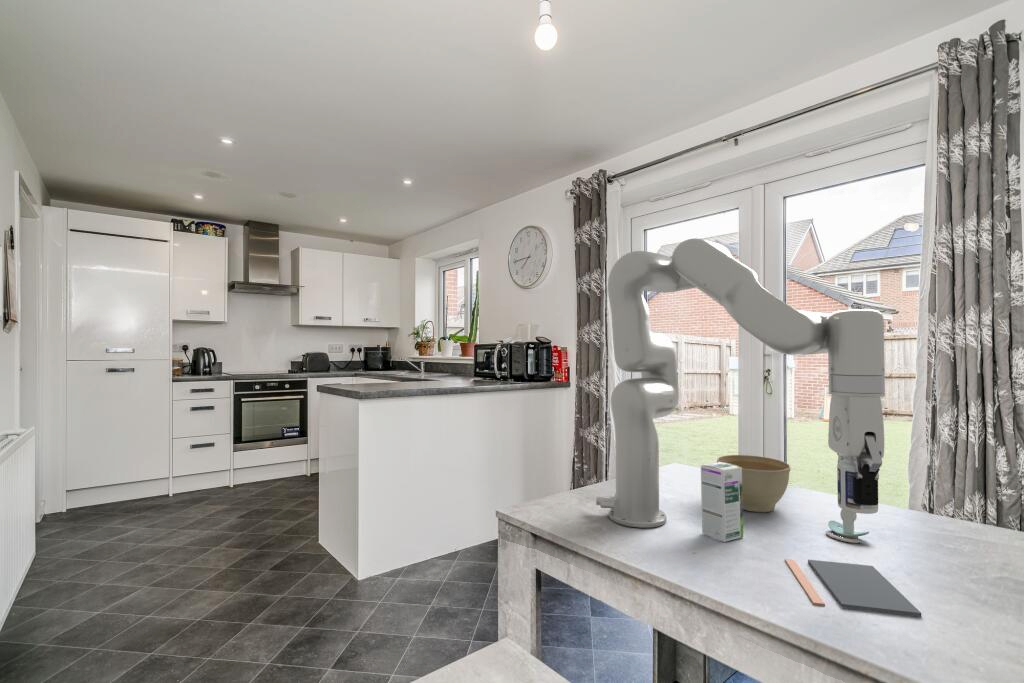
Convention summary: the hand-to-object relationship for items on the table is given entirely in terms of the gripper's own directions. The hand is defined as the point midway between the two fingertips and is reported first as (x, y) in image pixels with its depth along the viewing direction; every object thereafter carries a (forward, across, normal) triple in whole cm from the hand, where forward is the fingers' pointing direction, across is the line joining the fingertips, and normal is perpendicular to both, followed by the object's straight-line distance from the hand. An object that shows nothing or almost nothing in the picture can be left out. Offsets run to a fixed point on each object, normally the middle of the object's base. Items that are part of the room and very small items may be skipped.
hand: (857, 497), depth 80 cm
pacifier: (+15, -23, +6) cm, 28 cm away
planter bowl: (+15, -40, -8) cm, 43 cm away
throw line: (+14, 0, -8) cm, 17 cm away
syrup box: (+15, -18, -18) cm, 29 cm away
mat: (+14, 0, 0) cm, 14 cm away
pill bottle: (+2, 0, 0) cm, 2 cm away
